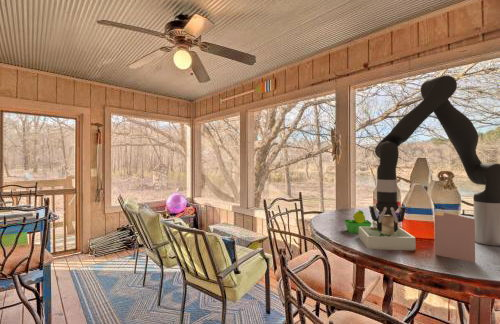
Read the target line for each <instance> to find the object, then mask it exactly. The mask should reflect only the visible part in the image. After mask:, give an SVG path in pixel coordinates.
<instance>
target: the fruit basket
mask: <svg viewBox="0 0 500 324" xmlns="http://www.w3.org/2000/svg"><path fill="white" fill-rule="evenodd" d="M364 213H365V212H364V211H363V210H357V211H356V212H355V213H354V214H353V217H352V219H344V223H345V226H346V229H347V231H348V232H349V233H351V234H354V233H355V234H359V227H372V222H371V221H369V220H367V219H366V216H365V214H364Z"/></svg>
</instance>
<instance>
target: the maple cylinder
mask: <svg viewBox="0 0 500 324" xmlns="http://www.w3.org/2000/svg"><path fill="white" fill-rule="evenodd" d="M381 223H382V232H381V233H383V234H388V235H392V234H394V217H393V216H391V215H384V217H383V218H382V221H381Z"/></svg>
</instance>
